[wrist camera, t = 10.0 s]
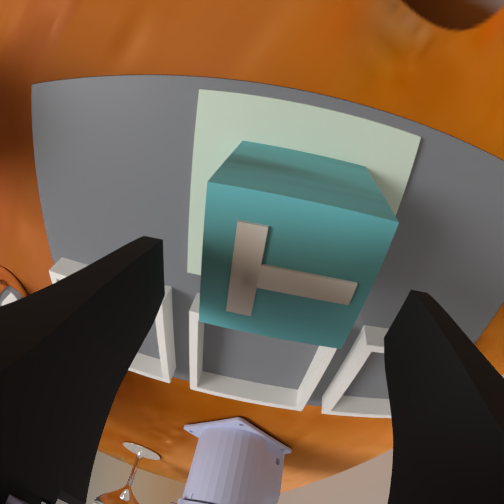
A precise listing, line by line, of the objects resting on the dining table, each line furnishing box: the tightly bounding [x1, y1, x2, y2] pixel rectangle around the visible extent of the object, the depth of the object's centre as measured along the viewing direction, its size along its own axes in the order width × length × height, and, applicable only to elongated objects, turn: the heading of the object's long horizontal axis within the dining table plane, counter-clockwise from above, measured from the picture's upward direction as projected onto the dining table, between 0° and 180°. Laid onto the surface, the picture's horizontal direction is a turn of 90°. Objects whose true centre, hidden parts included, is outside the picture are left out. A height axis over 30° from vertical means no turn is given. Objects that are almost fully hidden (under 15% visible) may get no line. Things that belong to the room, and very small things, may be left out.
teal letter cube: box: [199, 141, 399, 349], centre depth 11 cm, size 5×5×5 cm
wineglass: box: [93, 441, 160, 504], centre depth 31 cm, size 8×8×18 cm
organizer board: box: [31, 75, 504, 418], centre depth 16 cm, size 20×29×2 cm
